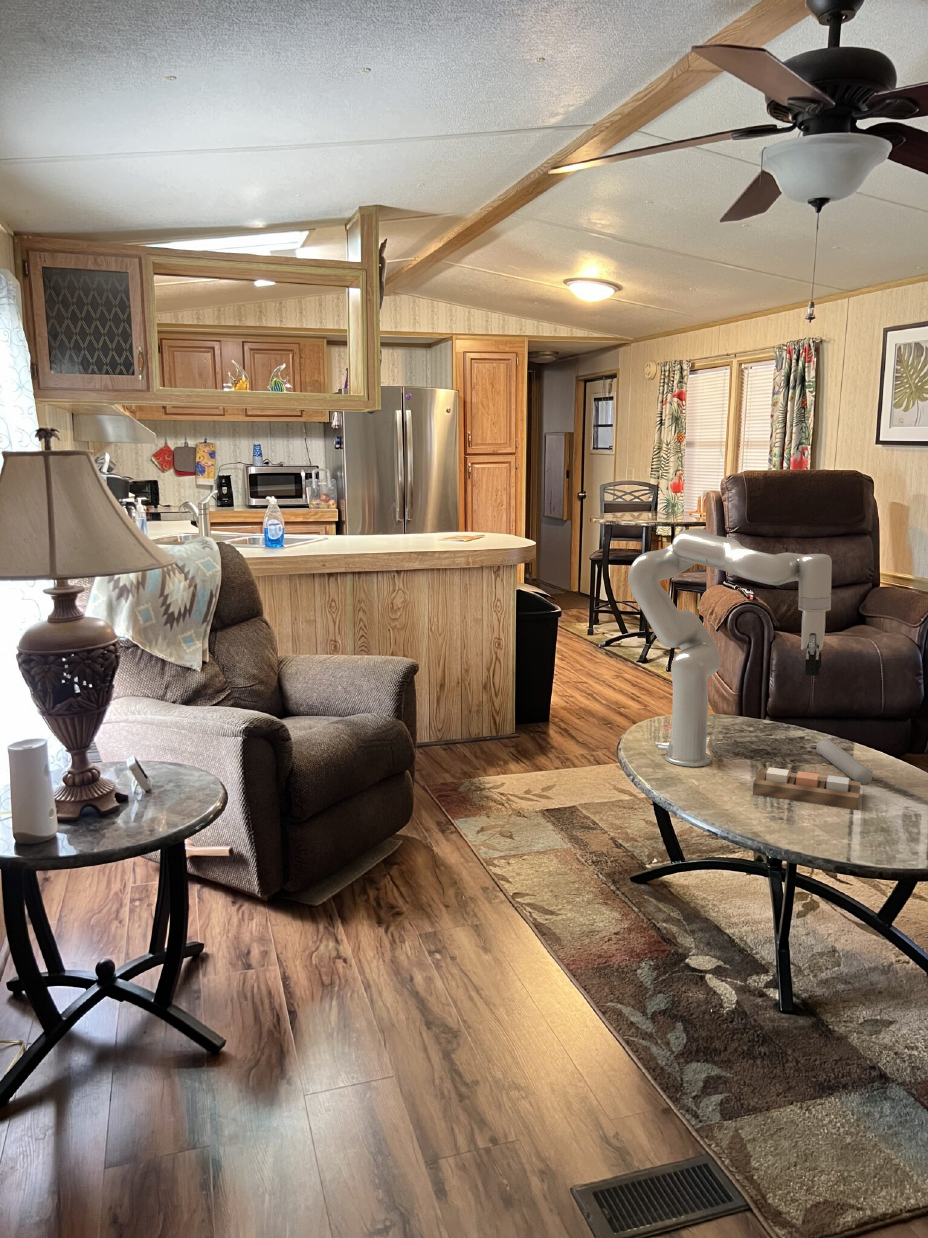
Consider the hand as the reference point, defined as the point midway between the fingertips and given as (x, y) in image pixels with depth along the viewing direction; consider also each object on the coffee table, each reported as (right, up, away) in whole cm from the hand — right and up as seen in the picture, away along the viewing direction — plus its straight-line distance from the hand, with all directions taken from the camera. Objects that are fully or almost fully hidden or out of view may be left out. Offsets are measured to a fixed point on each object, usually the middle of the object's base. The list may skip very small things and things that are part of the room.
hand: (813, 671), depth 224 cm
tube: (+14, -28, +16) cm, 35 cm away
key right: (+4, -29, -6) cm, 30 cm away
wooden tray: (-3, -30, -3) cm, 31 cm away
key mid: (-3, -29, -3) cm, 29 cm away
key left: (-9, -28, 0) cm, 30 cm away
